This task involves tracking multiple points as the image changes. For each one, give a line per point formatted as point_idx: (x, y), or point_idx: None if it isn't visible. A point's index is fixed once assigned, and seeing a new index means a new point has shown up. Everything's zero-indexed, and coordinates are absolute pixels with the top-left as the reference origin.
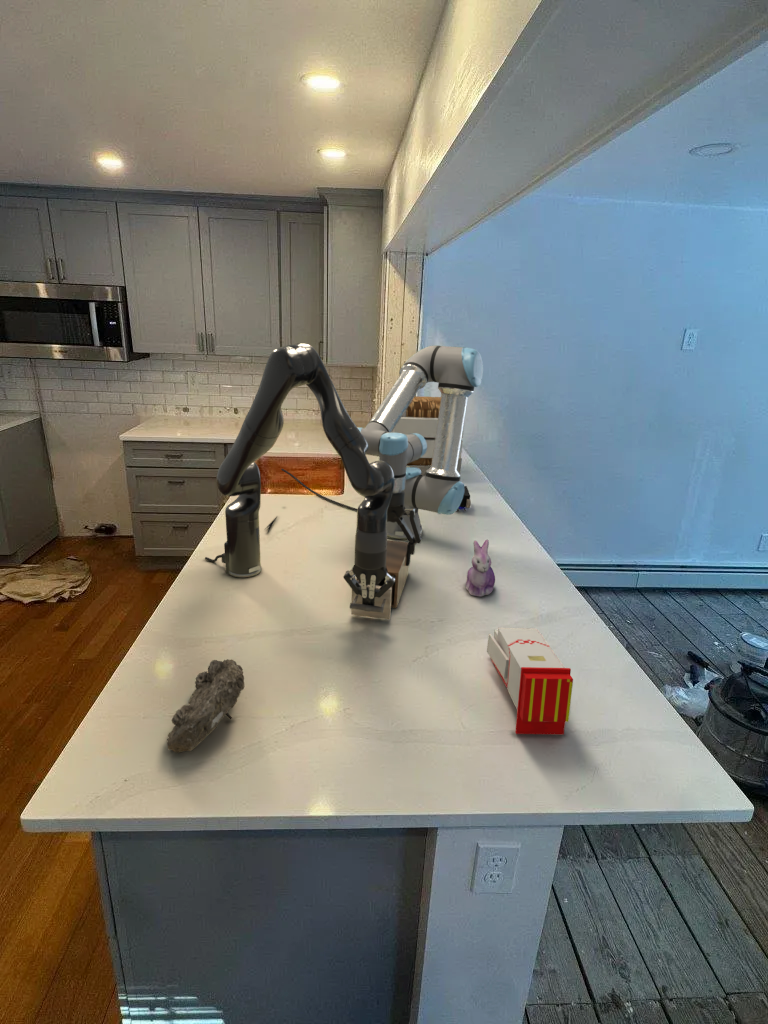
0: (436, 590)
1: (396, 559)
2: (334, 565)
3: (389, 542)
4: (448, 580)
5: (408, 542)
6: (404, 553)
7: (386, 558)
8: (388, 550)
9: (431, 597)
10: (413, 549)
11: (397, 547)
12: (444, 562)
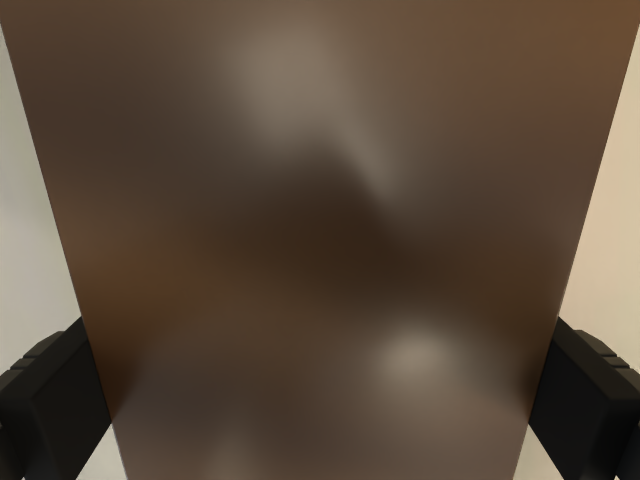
0: (14, 178)
1: (112, 26)
2: (625, 318)
3: (331, 472)
4: (4, 307)
5: (54, 465)
6: (86, 265)
7: (269, 16)
8: (300, 294)
9: (4, 77)
10: (13, 373)
11: (220, 391)
12: (94, 463)
